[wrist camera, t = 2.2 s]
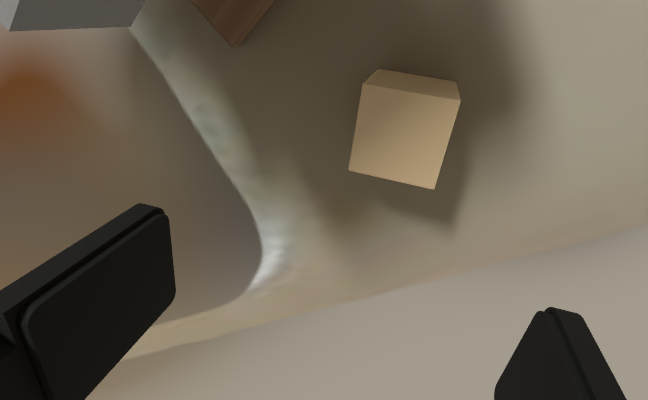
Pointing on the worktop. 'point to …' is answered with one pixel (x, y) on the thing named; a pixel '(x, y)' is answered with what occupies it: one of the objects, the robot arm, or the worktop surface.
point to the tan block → (404, 127)
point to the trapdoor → (67, 14)
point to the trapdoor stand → (233, 16)
